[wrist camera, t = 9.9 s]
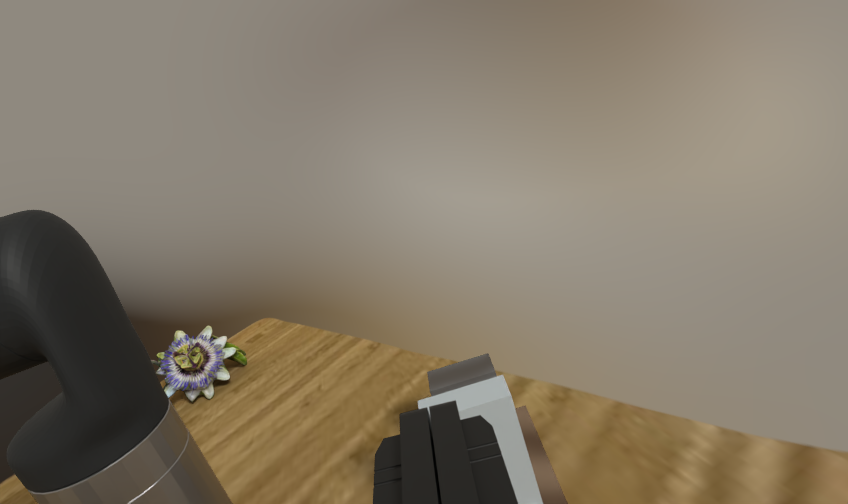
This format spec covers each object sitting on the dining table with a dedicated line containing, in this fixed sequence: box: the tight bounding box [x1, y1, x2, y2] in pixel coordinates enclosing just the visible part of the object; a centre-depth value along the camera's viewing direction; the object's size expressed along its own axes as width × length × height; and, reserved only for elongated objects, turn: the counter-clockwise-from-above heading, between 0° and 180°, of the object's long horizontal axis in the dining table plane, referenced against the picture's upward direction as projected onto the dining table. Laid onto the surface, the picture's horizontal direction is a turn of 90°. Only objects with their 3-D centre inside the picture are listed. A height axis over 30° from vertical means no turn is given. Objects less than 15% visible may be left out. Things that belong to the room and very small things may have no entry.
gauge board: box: [427, 354, 568, 504], centre depth 36 cm, size 22×10×8 cm, turn 5°
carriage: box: [418, 375, 543, 504], centre depth 37 cm, size 8×8×11 cm
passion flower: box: [151, 326, 247, 402], centre depth 73 cm, size 11×11×12 cm
